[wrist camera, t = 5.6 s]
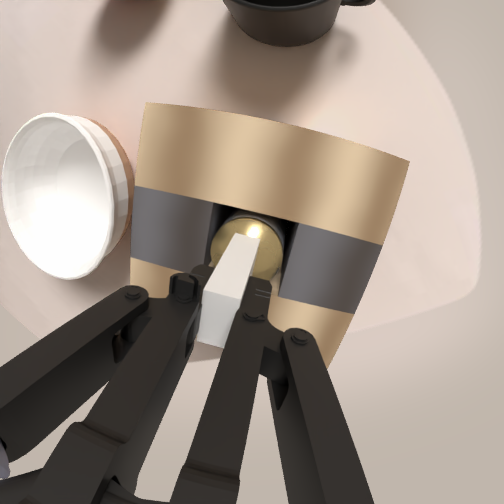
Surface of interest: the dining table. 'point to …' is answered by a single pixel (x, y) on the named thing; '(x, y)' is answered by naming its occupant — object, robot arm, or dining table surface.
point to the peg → (258, 227)
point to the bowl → (66, 193)
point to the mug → (287, 19)
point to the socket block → (264, 208)
